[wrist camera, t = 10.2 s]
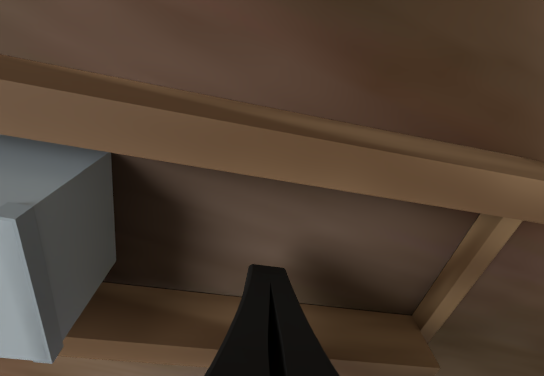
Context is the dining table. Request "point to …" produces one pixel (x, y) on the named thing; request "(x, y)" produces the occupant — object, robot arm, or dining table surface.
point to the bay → (279, 166)
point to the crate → (50, 241)
